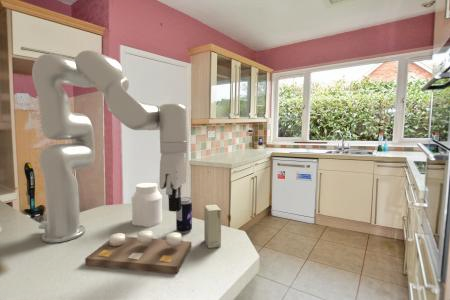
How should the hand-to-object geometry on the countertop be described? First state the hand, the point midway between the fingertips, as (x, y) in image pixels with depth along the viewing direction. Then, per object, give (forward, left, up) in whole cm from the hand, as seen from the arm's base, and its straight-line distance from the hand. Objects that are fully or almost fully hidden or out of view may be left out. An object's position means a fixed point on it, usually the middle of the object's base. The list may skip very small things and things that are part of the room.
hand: (175, 210), depth 72 cm
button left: (-18, 0, -11) cm, 22 cm away
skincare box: (+10, +9, -14) cm, 19 cm away
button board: (-9, -2, -14) cm, 17 cm away
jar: (-19, +23, -14) cm, 33 cm away
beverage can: (-2, +17, -14) cm, 22 cm away
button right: (0, 0, -10) cm, 10 cm away
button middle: (-9, 0, -10) cm, 14 cm away
